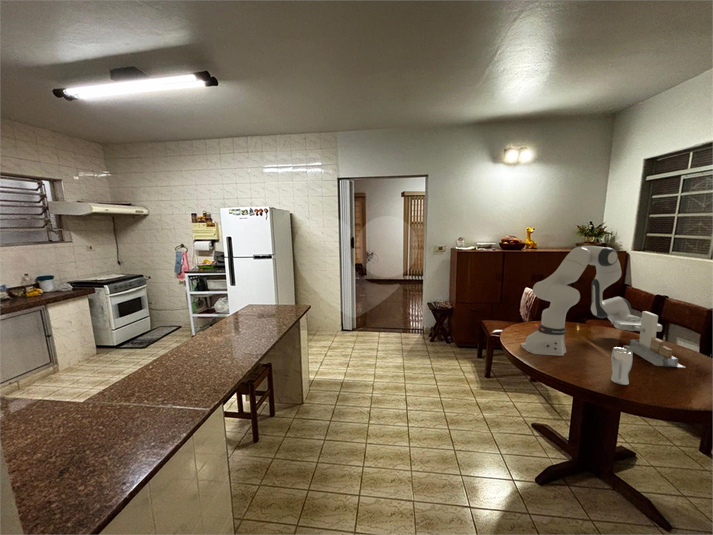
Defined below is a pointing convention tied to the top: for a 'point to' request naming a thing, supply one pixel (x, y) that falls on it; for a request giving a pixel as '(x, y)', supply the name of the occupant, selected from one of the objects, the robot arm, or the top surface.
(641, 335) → the tall panel
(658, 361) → the slot rack
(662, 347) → the short offcut
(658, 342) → the tall offcut
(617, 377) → the beer glass
